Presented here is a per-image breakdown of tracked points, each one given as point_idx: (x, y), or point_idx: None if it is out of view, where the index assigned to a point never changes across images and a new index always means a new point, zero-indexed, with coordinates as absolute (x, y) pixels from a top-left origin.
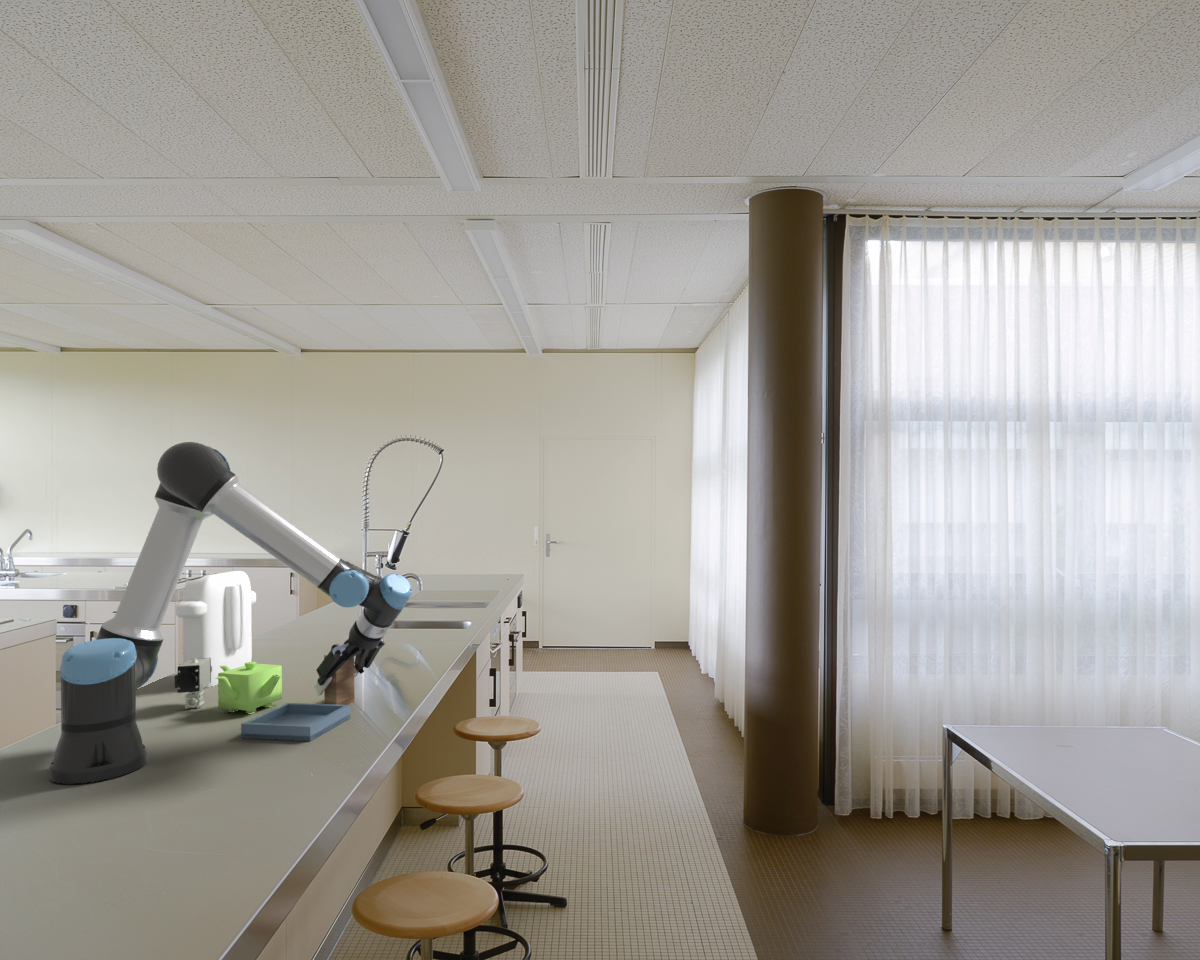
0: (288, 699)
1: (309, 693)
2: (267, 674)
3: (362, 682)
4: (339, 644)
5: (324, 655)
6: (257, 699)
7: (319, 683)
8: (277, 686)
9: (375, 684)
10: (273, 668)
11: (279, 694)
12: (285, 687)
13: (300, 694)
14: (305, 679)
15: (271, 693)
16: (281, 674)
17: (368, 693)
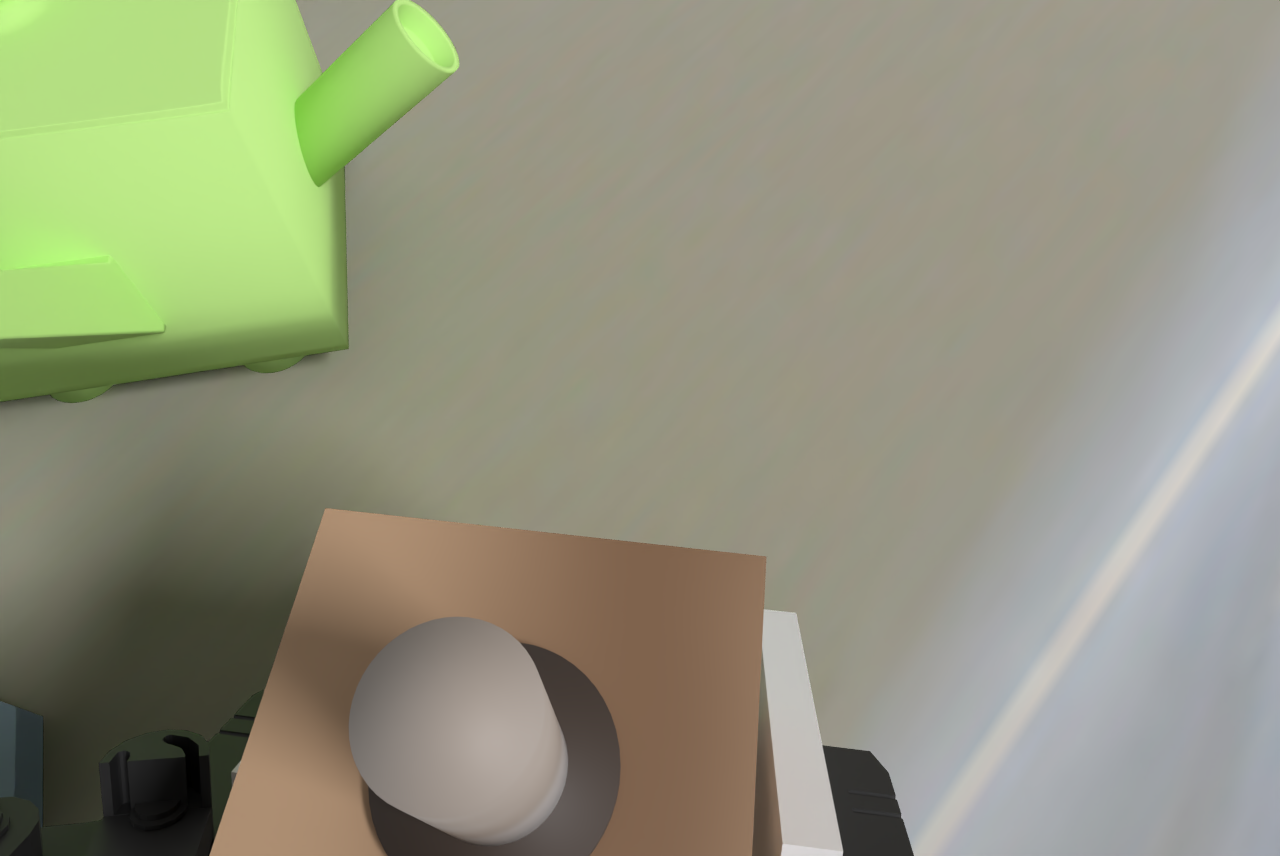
0: (496, 310)
1: (701, 310)
2: (12, 183)
3: (1209, 415)
4: (430, 750)
5: (320, 524)
6: (9, 353)
7: None
8: (248, 277)
9: (1274, 582)
10: (86, 130)
11: (302, 327)
12: (725, 71)
13: (645, 277)
14: (939, 28)
15: (186, 319)
16: (262, 191)
17: (1028, 814)
